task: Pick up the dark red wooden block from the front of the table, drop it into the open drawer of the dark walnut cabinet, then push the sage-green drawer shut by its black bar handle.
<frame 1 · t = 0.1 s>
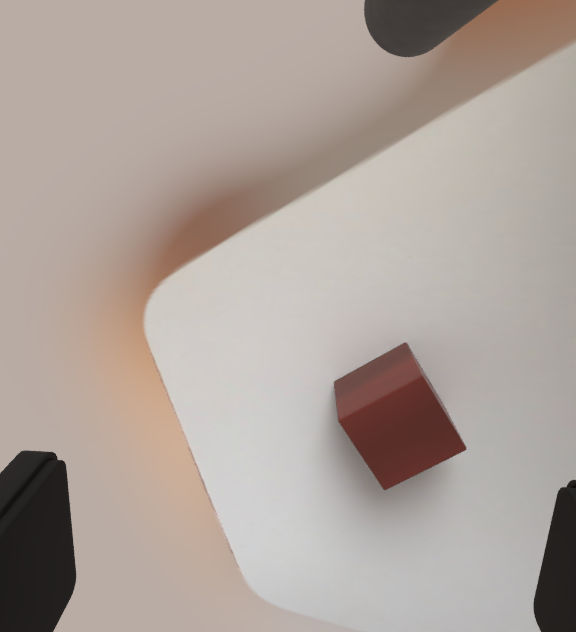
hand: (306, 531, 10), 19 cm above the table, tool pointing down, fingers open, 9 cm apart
block: (389, 394, 30), on the table
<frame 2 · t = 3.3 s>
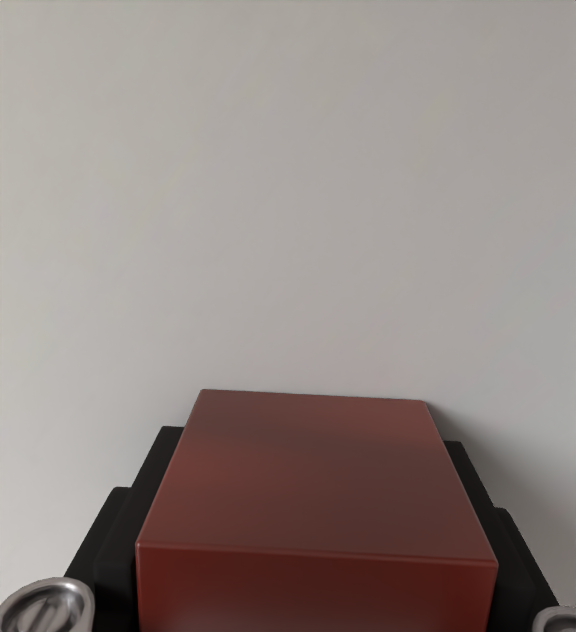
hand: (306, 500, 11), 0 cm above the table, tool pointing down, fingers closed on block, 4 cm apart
block: (306, 489, 12), on the table, touching gripper
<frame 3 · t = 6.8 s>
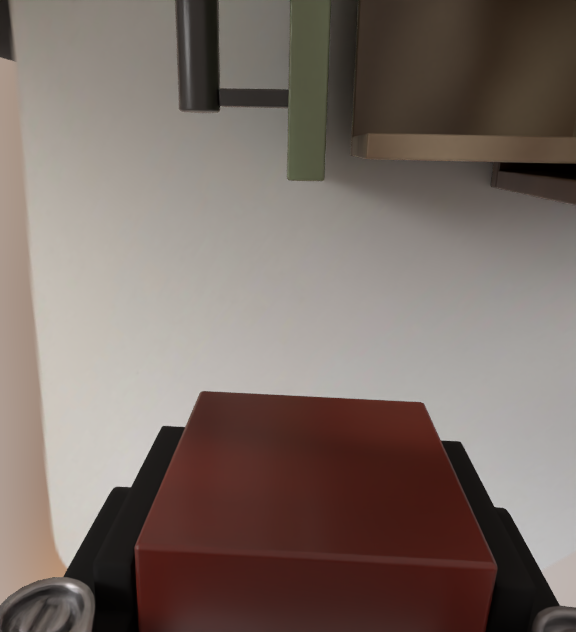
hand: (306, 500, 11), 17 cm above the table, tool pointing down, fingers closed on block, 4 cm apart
drawer: (411, 11, 20), point 5 cm above the table, slide at 8.0 cm
block: (306, 491, 12), point 17 cm above the table, touching gripper
when the fingers open (8 cm above the table, at t = 10.2 s): block drops 6 cm, resting on drawer.
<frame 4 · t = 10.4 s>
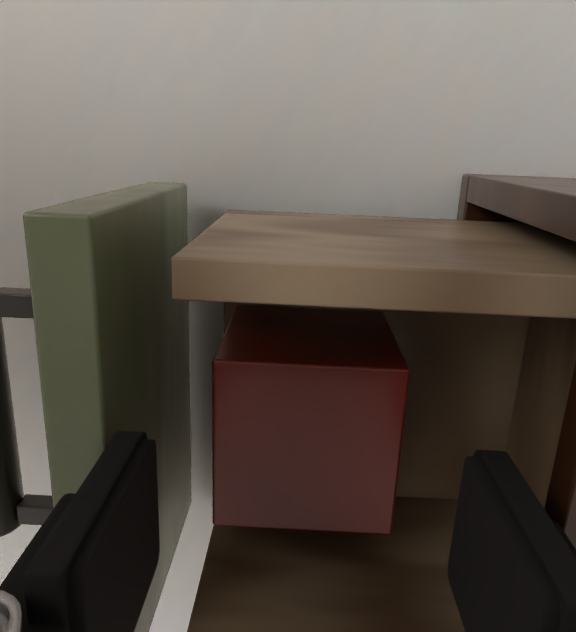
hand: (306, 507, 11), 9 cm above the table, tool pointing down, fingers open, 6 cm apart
drawer: (270, 416, 15), point 5 cm above the table, slide at 8.5 cm, touching block, gripper
block: (306, 376, 17), point 2 cm above the table, touching drawer
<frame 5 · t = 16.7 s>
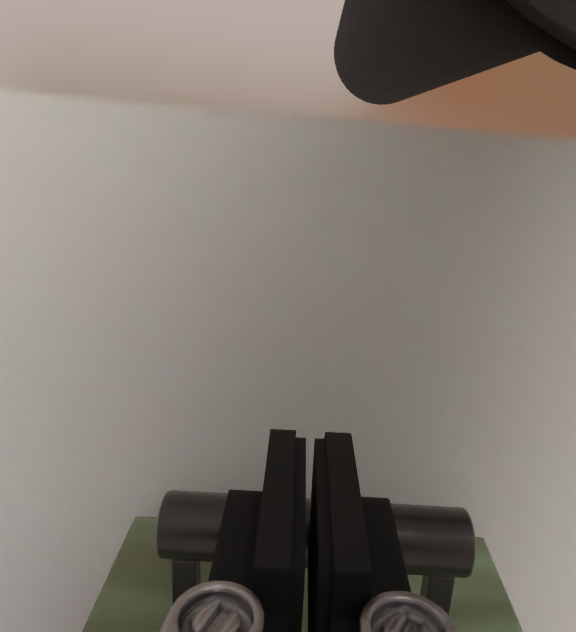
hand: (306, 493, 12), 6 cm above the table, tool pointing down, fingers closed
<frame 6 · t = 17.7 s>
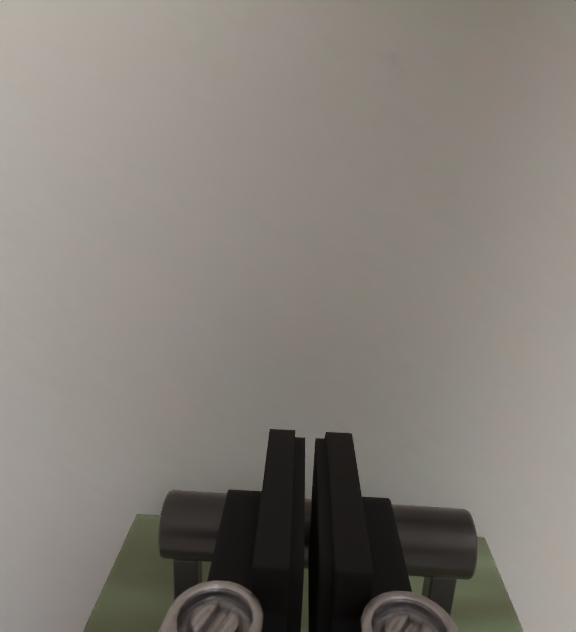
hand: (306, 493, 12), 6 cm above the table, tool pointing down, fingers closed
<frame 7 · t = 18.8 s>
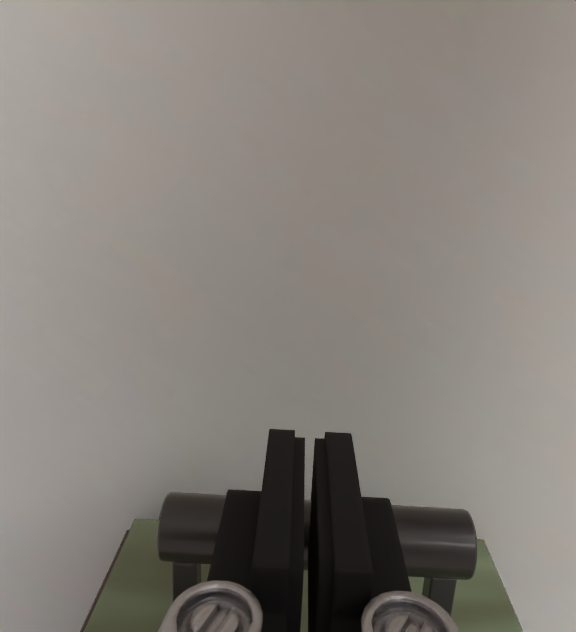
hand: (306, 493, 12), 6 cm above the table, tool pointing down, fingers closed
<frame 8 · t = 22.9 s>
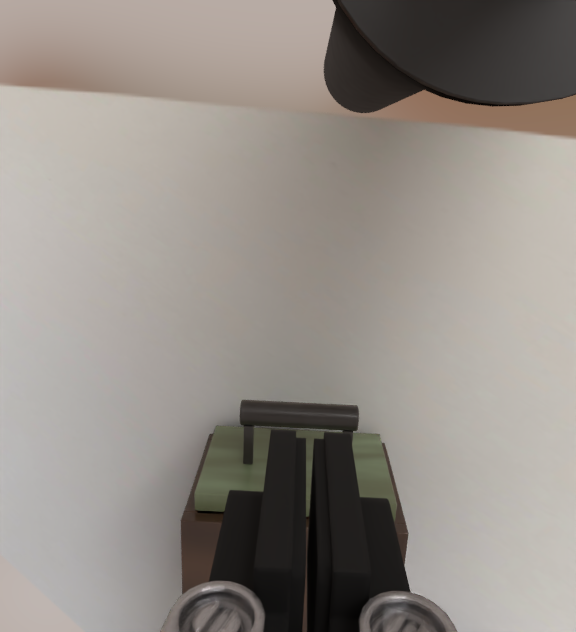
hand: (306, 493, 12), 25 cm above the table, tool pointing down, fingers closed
cabinet: (292, 517, 42), on the table
drawer: (293, 516, 36), point 5 cm above the table, slide at 0.0 cm, touching block, cabinet
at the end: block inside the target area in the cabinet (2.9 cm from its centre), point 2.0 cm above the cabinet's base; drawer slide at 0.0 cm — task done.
